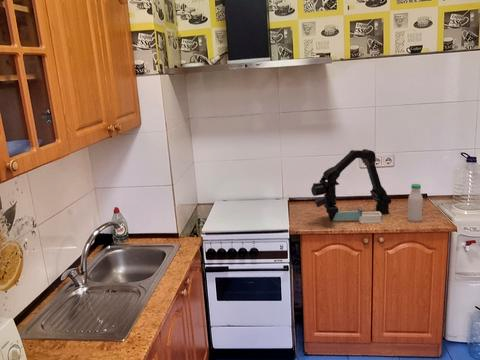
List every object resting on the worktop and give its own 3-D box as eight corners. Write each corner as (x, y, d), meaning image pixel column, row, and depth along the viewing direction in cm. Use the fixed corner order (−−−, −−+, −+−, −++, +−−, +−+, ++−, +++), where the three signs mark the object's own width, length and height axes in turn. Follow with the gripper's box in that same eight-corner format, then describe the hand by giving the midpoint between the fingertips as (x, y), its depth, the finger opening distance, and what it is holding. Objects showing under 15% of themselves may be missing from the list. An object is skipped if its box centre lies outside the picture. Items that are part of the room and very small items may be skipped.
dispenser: (379, 217, 239) (379, 205, 237) (382, 222, 231) (382, 210, 229) (357, 218, 240) (357, 206, 238) (360, 223, 232) (360, 211, 230)
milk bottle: (421, 222, 227) (422, 187, 222) (406, 221, 231) (407, 185, 226) (423, 218, 233) (425, 183, 228) (408, 216, 237) (409, 182, 233)
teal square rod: (358, 218, 237) (358, 210, 236) (359, 219, 235) (359, 211, 234) (329, 219, 238) (329, 211, 237) (330, 220, 236) (330, 213, 235)
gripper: (314, 189, 243) (314, 214, 247) (317, 198, 225) (317, 226, 229) (333, 188, 242) (334, 214, 246) (338, 197, 224) (338, 225, 228)
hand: (330, 219), depth 237 cm, fingers open, 5 cm apart
